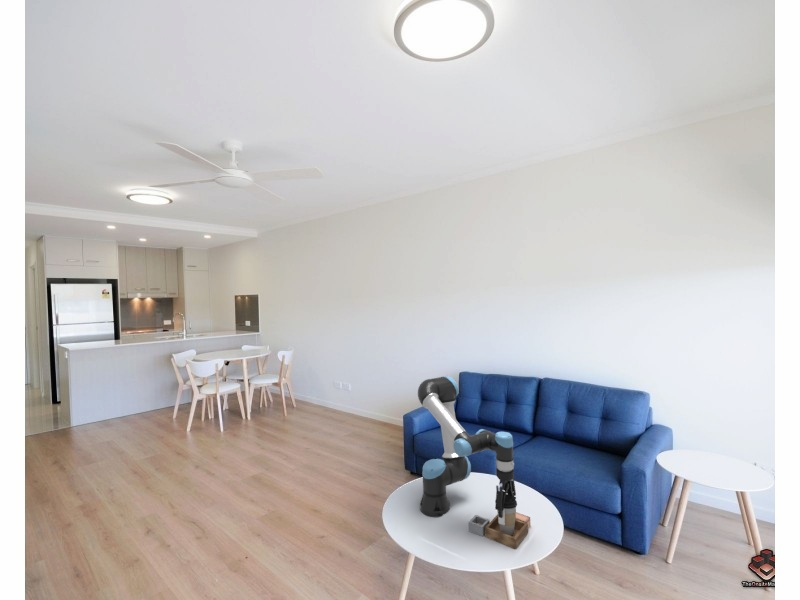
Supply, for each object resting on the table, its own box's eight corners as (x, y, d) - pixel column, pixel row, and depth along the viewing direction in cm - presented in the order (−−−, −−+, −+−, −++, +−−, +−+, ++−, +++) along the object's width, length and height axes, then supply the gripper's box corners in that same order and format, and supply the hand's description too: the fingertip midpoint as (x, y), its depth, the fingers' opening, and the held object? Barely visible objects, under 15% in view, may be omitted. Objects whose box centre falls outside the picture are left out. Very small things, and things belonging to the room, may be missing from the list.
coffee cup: (519, 539, 166) (518, 505, 166) (496, 537, 168) (495, 503, 168) (516, 526, 175) (515, 493, 175) (495, 524, 177) (494, 492, 177)
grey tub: (468, 532, 175) (468, 521, 175) (476, 525, 181) (475, 514, 181) (482, 538, 171) (482, 527, 171) (489, 530, 176) (489, 519, 176)
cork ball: (474, 530, 176) (474, 523, 176) (477, 527, 178) (477, 520, 178) (480, 532, 174) (480, 526, 174) (483, 529, 176) (483, 523, 176)
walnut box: (485, 538, 171) (485, 527, 171) (499, 523, 181) (498, 513, 181) (515, 551, 162) (515, 539, 162) (528, 534, 173) (527, 523, 173)
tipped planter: (511, 527, 178) (511, 517, 178) (515, 522, 182) (515, 512, 182) (526, 533, 174) (526, 522, 174) (530, 527, 177) (530, 517, 177)
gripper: (502, 480, 160) (504, 533, 161) (522, 461, 178) (524, 510, 178) (485, 475, 165) (487, 527, 165) (507, 457, 182) (508, 504, 182)
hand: (506, 518), depth 171 cm, fingers closed on coffee cup, 9 cm apart
